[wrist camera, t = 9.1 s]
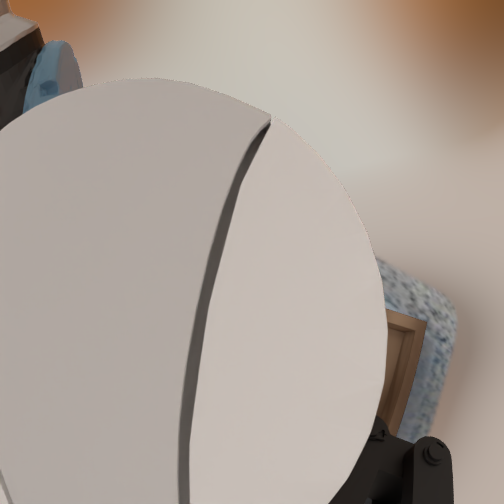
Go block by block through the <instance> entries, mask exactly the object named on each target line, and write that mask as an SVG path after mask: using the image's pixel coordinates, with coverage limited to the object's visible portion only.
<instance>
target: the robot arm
mask: <svg viewBox="0 0 504 504" xmlns="http://www.w3.org/2000/svg"><path fill="white" fill-rule="evenodd" d="M81 88H83V83H82V78H81V74H80V70H79V66H78V63H77V60H76V58H75V57H74V53H73V50H72V48H71V46H70V44H69V43H67V42H65V41H62V40H61V41H54V40H52V41H50V42H48V43H46V44H45V43H44V41H43V38H42V35H41V32H40V29H39V26H38V23H37V22H35V21H31V20H28V19H25V18H22V17H19V16H16V15H15V14H13V13H12V11H11V8H10V5H9V1H8V0H0V131H1V130H2V129H3V128H4V127H5V126H6V125H8V124H9V123H10V122H12V121H13V120H15V119H16V118H18V117H19V116H21V115H22V114H24V113H26V112H27V111H29V110H30V109H32V108H34V107H35V106H37V105H40V104H42V103H44V102H46V101H48V100H50V99H53V98H55V97H57V96H60V95H62V94H65V93H68V92H71V91H74V90H77V89H81ZM328 504H454V494H453V473H452V460H451V454H450V451H449V449H448V448H447V446H446V445H445V444H444V443H443V442H442V441H441V440H439V439H437V438H435V437H427V436H425V437H423V438H421V439H419V440H418V441H417V442H416V443H415V444H412V443H410V442H407V441H405V440H402V439H399V438H397V437H395V436H393V435H391V434H390V432H389V429H388V426H387V424H386V423H385V422H384V421H383V419H381V418H380V417H379V416H377V415H376V416H375V420H374V423H373V427H372V430H371V433H370V435H369V437H368V439H367V442H366V444H365V446H364V448H363V450H362V452H361V454H360V456H359V458H358V460H357V462H356V464H355V466H354V468H353V470H352V472H351V473H350V475H349V477H348V479H347V480H346V481H345V483H344V484H343V485H342V487H341V488H340V489H339V491H338V492H337V493H336V494H335V496H334V497H333V498H332V500H331V501H330V502H329V503H328Z"/></svg>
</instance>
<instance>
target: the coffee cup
mask: <svg viewBox="0 0 504 504" xmlns="http://www.w3.org/2000/svg"><path fill="white" fill-rule="evenodd" d="M270 121H271V115H270V114H268V113H266V112H264V111H262V110H260V109H257V108H255V107H253V106H251V105H249V104H246V103H244V102H242V101H240V100H237V99H235V98H232V97H230V96H228V95H225V94H222V93H219V92H216V91H213V90H210V89H207V88H204V87H201V86H198V85H195V84H192V83H187V82H181V81H174V80H166V79H160V78H147V79H124V80H118V81H111V82H106V83H101V84H95V85H91V86H87V87H84V88H81V89H77V90H74V91H71V92H68V93H65V94H62V95H60V96H57V97H55V98H53V99H50V100H48V101H46V102H44V103H42V104H40V105H37V106H35V107H34V108H32V109H30V110H29V111H27V112H26V113H24V114H22V115H21V116H19V117H18V118H16V119H15V120H13V121H12V122H10V123H9V124H8V125H6V126H5V127H4V128H3V129H2V130H1V131H0V504H328V503H329V502H330V501H331V500H332V498H333V497H334V496H335V494H336V493H337V492H338V491H339V489H340V488H341V487H342V485H343V484H344V483H345V481H346V480H347V479H348V477H349V475H350V473H351V472H352V470H353V468H354V466H355V464H356V462H357V460H358V458H359V456H360V454H361V452H362V450H363V448H364V446H365V444H366V442H367V439H368V437H369V435H370V433H371V430H372V427H373V423H374V420H375V416H376V413H377V409H378V405H379V401H380V398H381V394H382V390H383V386H384V380H385V369H386V355H387V339H388V327H387V317H386V308H385V299H384V291H383V284H382V279H381V275H380V272H379V268H378V265H377V262H376V258H375V255H374V252H373V249H372V246H371V242H370V239H369V236H368V234H367V231H366V229H365V227H364V225H363V223H362V221H361V219H360V217H359V215H358V213H357V211H356V209H355V207H354V205H353V203H352V201H351V199H350V197H349V195H348V194H347V192H346V190H345V188H344V187H343V186H342V184H341V183H340V182H339V180H338V179H337V178H336V176H335V175H334V174H333V172H332V171H331V170H330V168H329V167H328V166H327V164H326V163H325V162H324V160H323V159H322V158H321V156H320V155H319V154H318V153H317V152H316V151H315V150H314V149H313V148H311V146H309V145H308V144H307V143H306V142H305V141H304V140H303V139H302V138H301V137H300V136H299V135H298V134H297V133H296V132H295V131H293V130H292V129H291V128H290V127H289V126H287V125H286V124H285V123H283V122H282V121H280V120H279V119H278V118H276V117H275V118H274V120H273V122H272V124H270Z"/></svg>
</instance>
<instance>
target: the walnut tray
mask: <svg viewBox="0 0 504 504" xmlns="http://www.w3.org/2000/svg"><path fill="white" fill-rule="evenodd" d="M386 317H387V327H388V339H387V355H386V369H385V380H384V386H383V390H382V394H381V398H380V401H379V405H378V409H377V413H376V415H377V416H379V417H380V418H381V419H383V421H384V422H385V423H386V424H387V426H388V429H389V432H390V434H391V435H393V436H395V437H396V435H397V432H398V429H399V426H400V423H401V420H402V417H403V414H404V411H405V408H406V404H407V401H408V398H409V394H410V391H411V387H412V384H413V380H414V376H415V373H416V369H417V365H418V361H419V357H420V352H421V348H422V344H423V339H424V334H425V330H426V325H427V322H425V321H422V320H419V319H416V318H413V317H410V316H407V315H404V314H401V313H398V312H395V311H392V310H389V309H386Z"/></svg>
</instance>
